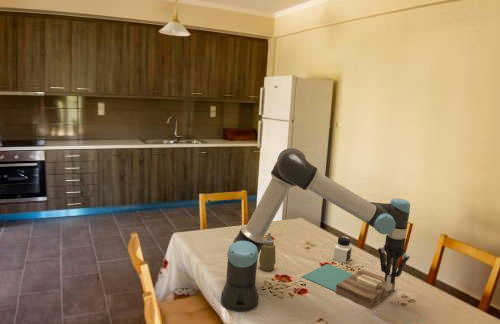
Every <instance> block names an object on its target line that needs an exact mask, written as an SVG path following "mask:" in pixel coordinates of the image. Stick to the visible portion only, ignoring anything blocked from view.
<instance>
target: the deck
mask: <svg viewBox="0 0 500 324" xmlns="http://www.w3.org/2000/svg"><path fill="white" fill-rule="evenodd" d="M353 274H354V275H352V276H350V277H349V278H347V279H345V280H343V281H342V282H340V283H338V284H337V285H336V292H335V294H336V295H339V296H341V297H343V298H345V299H348V300H349V301H352V302H354V303H357V304H359V305H361V306H363V307H365V308H368V309H372V308H373V307H374V306H376V305H377V304H378V303H379V302H380V301H382V300H383V299H384V298H386V297H387V296H388V295H390V294H391V293H392V292H394V291H395V288H396V282H395V283H394V284H392V289H391V290H390V291H387V290H385V289H386V281H385V276H382V275H378V274H376V273H373V272H370V271H368V270H366V269H363V268H362V269H361V270H359V271H357V272H355V273H353ZM362 274H364V275H367V276H369V277H372V278H374V279H377V280H380V281H382V285H381V286H380V287H379V288H377V289H376V290H374V289H372V288H369V287H367V286H364V285H362V284H359V283H357V282H356V278H357V277H359V276H361V275H362Z"/></svg>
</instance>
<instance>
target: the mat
mask: <svg viewBox="0 0 500 324" xmlns="http://www.w3.org/2000/svg"><path fill="white" fill-rule="evenodd" d="M354 274H355V273H352V272H349V271H346V270H345V269H341V268H339V267H336V266H334V265H331V264H328V263H326V264H324V265H322V266H320V267H318V268H316V269H314V270H312V271H310V272H308V273H305V274H304V275H302V276H301V278H303V279H306V280H307V281H310V282H312V283H314V284H317V285H319V286H321V287H323V288H326V289H328V290H330V291H333V292H334V293H336V285H337V284H338V283H340V282H342V281H343V280H345V279H347V278H349V277H350V276H352V275H354Z"/></svg>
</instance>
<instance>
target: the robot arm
mask: <svg viewBox="0 0 500 324" xmlns="http://www.w3.org/2000/svg"><path fill="white" fill-rule="evenodd" d="M270 176H271V180H270V181H269V183H268V185H267V187H266V189H265V191H264V192H263V194H262V196H261V198H260V200H259V202H258V204H257V205H256V208H255V210H254V211H253V213H252V216H251V217H250V218H249V221H248V223H247V224H246V226H242V227H241V228H240V230H239V233H238V234H237V235H236V237H235V238H234V239H233V242H232V243H231V244H230V245H229V246H228V251H227V264H226V265H227V266H226V267H227V268H226V279H225V280H226V281H225V285H224V287H223V290H222V291H221V294H220V304H221V305H222V306H223V307H225V308H226V309H228V310H229V311H234V312H249V311H252V310H254V309H256V308H257V307H258V305H259V299H260V298H259V294H258V291H257V286H256V282H257V281H256V279H257V267H258V259H259V255H260V252H261V248H262V247H263V245H264V243H265V239H266V238H265V235H266V234H267V231H268V230H269V228H270V227H271V224H272V223H273V221H274V219H275V217H276V215H277V213H278V212H279V210H280V208H281V206H282V204H283V202H284V200H285V199H286V197H287V195H288V192H289V191H290V189H291V188H294V187H298V188H299V189H301V190H303V191H307V190H308V191H310V192H312V193H314V194H316V196H319V197H321V198H323V199H325V200H326V201H328V202H330V203H331V204H333V206H334V205H335V206H336V207H338V208H340V209H342V210H343V211H345V212H347V213H348V214H350V215H352V216H354V217H356V218H357V219H359V220H360V221H362V222H364V223H365V224H366V225H369V226H370V227H372V228H374V229H375V231H376V232H378V233H379V234H381V235H386V236H385V242H384V245H383V247H379V248H378V249H377V251H378V254H379V261H380V271H381V272H382V273H384V278H385V281H386V289H385V290H387V291H390V290H391V289H392V284H394V283H395V284H396V278H398V277H400V276H401V275H402V273H403V271H404V268H405V266H406V264H407V263H408V262H407V261H409V260H410V259H411V257H410V255H407V254H406V251H405V246H406V245H405V244H406V237H407V231H408V224H409V219H410V214H411V213H410V212H411V211H410V210H411V203H410V201H408V200H406V199H404V198H391V200H390V203H384V202H374V201H373V202H371V201H368V200H367V199H365V198H363V197H361V196H360V195H358V194H356V193H354V192H353V191H351V190H349V189H348V188H346V187H345V186H343V185H341V184H340V183H338V182H336V181H334V180H333V179H331V178H329V177H328V176H326V175H324V174H322V173H321V172H320V171H319V168H318V167H316V166H315V165H313V164H311V163H310V162H309V161H308V160H307V158H306V156H305V153H303V151H301V150H300V149H297V148H293V147H289V148H286V149H284V150H282V151H280V153H279V155H278V156H277V161H276V162H275V164H274V166H273V168H272V170H271V172H270ZM385 253H386V254H385ZM401 257H402V258H401ZM400 258H401V259H402V260H401V262H400V264H399V260H400Z"/></svg>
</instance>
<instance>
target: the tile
mask: <svg viewBox="0 0 500 324" xmlns="http://www.w3.org/2000/svg"><path fill="white" fill-rule="evenodd" d="M356 282H357V283H359V284H362V285H364V286H367V287H369V288H372V289H374V290H376V289H377V288H379V287H380V286H381V285H382V281H380V280H377V279H374V278H372V277H369V276H367V275H364V274H362V275H361V276H359V277H357V278H356Z"/></svg>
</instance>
